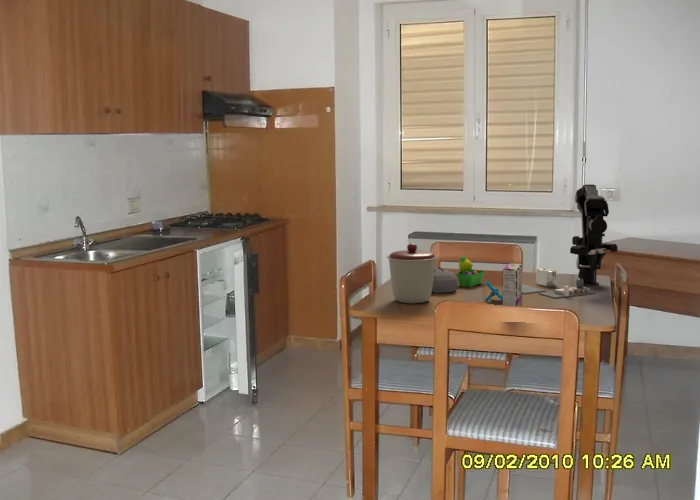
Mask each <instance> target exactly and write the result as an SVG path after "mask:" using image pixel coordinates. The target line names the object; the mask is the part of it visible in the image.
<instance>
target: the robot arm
mask: <svg viewBox="0 0 700 500" xmlns="http://www.w3.org/2000/svg"><path fill="white" fill-rule="evenodd" d="M574 196H575V198H574V200H575V201H574V203H575V204H576V209H577V210H578V211H579V213H580V214H581V234H582V236H581V237H580V236H579V235H575V236H572V239H571V242H572V246H571V247H570V248H569V249H570V251H569V254H573V255H577V258H576V269H577V270H578V277H577V279H584V280H583V286H584V285H585V286H592V285H599V284H600V282H597V273H598V272H597V271H598V270H601V268H602V260H603V258H604V257H605V256H606V255H607V253H606V252H604V251H609V252H611V253H615V252H618V247H619V246H618V245H617V244H616V243H611V242H603V237H605V236H606V234H605V232H606V231H607V229H608V223H607V221H606V220H605V219H604V217H608V216H609V214H610V210H609V204H608V201H607V200H606V198H605V197H603V195H602V196H601V195H599V190H598V189H597V185H595V184H592V183H591V184H590V183H589V184H582V187H581V188H579V189H577V190H576V192H575V195H574Z"/></svg>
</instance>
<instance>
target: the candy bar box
mask: <svg viewBox="0 0 700 500" xmlns="http://www.w3.org/2000/svg"><path fill="white" fill-rule="evenodd" d="M522 285H523V264H521V263H508V264H506V266H504V267H503V268H502V296H503V301H502V306H503V305H505V306H522V307H523V294H522Z"/></svg>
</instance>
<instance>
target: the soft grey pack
mask: <svg viewBox="0 0 700 500" xmlns="http://www.w3.org/2000/svg"><path fill="white" fill-rule="evenodd" d="M458 285H459V282H458V278H457V275H456V273H453V272H452V271H450V270H449V269H448V270H447V269H443V268H442V267H439V266H437V267H435V269H434V278H433V286H432V293H436V294H437V293H439V294H444V293H445V294H446V293H451V292H455V291H457V287H458Z"/></svg>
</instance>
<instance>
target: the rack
mask: <svg viewBox="0 0 700 500" xmlns="http://www.w3.org/2000/svg"><path fill="white" fill-rule="evenodd" d="M583 280H584V279H578V278H576V280H575V281H576V282H575V286H573V287H571V286H570V287H569V293H570V294H574V293H579V292H581V293H584V292H590V291H591V288H589V287H587V286H586V287H585V286H584V284H583ZM553 291H554V293H557V294H564V287H563V288H562V287H561V288H555V289H553Z"/></svg>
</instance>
